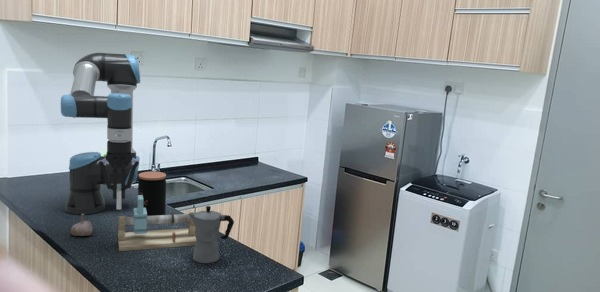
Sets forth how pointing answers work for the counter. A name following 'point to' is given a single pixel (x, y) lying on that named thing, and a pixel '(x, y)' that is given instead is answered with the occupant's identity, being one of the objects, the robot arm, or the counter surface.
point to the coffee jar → (153, 192)
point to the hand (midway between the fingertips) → (118, 208)
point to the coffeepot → (208, 234)
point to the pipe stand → (156, 233)
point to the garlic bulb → (82, 228)
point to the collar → (140, 217)
